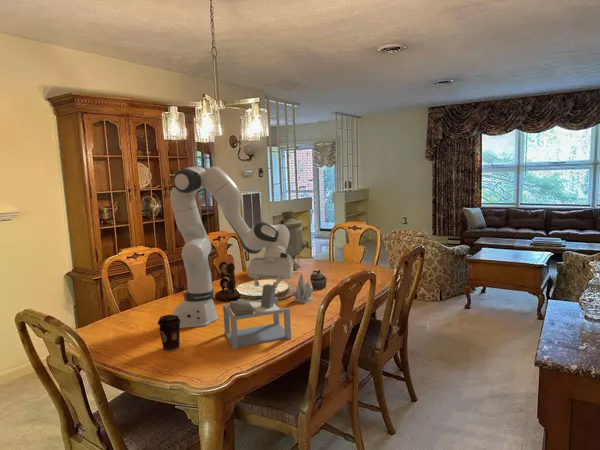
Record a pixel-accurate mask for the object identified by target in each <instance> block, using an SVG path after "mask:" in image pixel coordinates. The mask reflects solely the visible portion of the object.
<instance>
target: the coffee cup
mask: <svg viewBox="0 0 600 450" xmlns="http://www.w3.org/2000/svg"><path fill="white" fill-rule="evenodd" d="M156 323H157V325H158V326H159V335H160V340H161V344H162V349H163V351H165V352H175V351H178V350H179V349H180V347H181V346H180V342H181V340H180V338H181V337H180V335H181V334H180V333H181V328H180V319H179V318H178V316H176V315H173V314H166V315H162V316H160V317H159V319H158V321H157V322H156Z"/></svg>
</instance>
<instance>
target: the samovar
mask: <svg viewBox="0 0 600 450" xmlns="http://www.w3.org/2000/svg"><path fill="white" fill-rule="evenodd" d="M293 213H294V211H293V210H291V211H289V210H288V211H287V210H286V211H280V214H281V215H282V218H283V219H281V220H280V221H277V222H274V223H273V224H272V225H277V224H281V225H284V226H285V227H287V228H288V230H289V233H290V237H289V243H288V247H287V249H286V250H285V253H286V254H289V255H290V256H291V258H292V260H293V262H294V264H293V270H294V271H296V272H298V269H297V268H301V265H299V263H297V262H296V261H295V260H296V256H298V255H300V254H301V253H302V252H303V250H304V249H305V248H306V249H310V250H312V249H313V247H312V246H311V245H309V242H310V240H308V239H305V240H304V234H303V227H302V225H303V220H298V219H297V220H296V219H295V217H294V216H293ZM304 242H305V243H306V245H305V244H304Z"/></svg>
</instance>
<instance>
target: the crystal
mask: <svg viewBox="0 0 600 450" xmlns="http://www.w3.org/2000/svg"><path fill="white" fill-rule="evenodd" d="M310 284H311V283H310V282H309V280H307V282H306V283H305V279H304V275H303V273H302V272H301V273H300V276H299V279H298V282H297V286H296V288H295V290H292V296H293V297H294V302H297V303H309V302H312V301H314V300H313V299H314V298H313V297H312V294H313V291H314V288H313V287H312V285H310Z"/></svg>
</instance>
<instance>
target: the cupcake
mask: <svg viewBox="0 0 600 450" xmlns="http://www.w3.org/2000/svg"><path fill="white" fill-rule="evenodd" d="M309 280H310V284H311V285H310V286H312V287H313V290H323V289H326V286H327V280H328V278H327V277H326V275H325V273H323V271H322V270H321V269H319V270H313V271H312V273H311V274H310V279H309Z"/></svg>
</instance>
